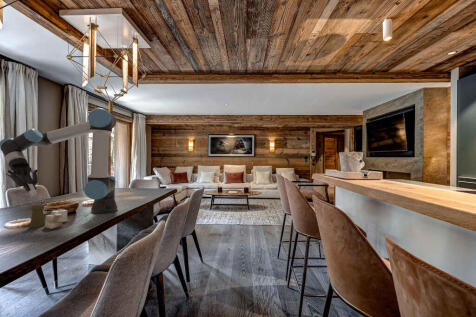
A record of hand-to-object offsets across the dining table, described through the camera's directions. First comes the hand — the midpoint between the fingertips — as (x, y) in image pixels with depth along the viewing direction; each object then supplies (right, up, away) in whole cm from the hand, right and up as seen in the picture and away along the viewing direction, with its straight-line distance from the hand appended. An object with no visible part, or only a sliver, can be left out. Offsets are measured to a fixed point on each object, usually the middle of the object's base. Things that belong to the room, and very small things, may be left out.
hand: (34, 195), depth 117 cm
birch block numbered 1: (+11, -16, -1) cm, 19 cm away
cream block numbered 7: (+7, -16, +7) cm, 19 cm away
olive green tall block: (+2, -16, -1) cm, 16 cm away
